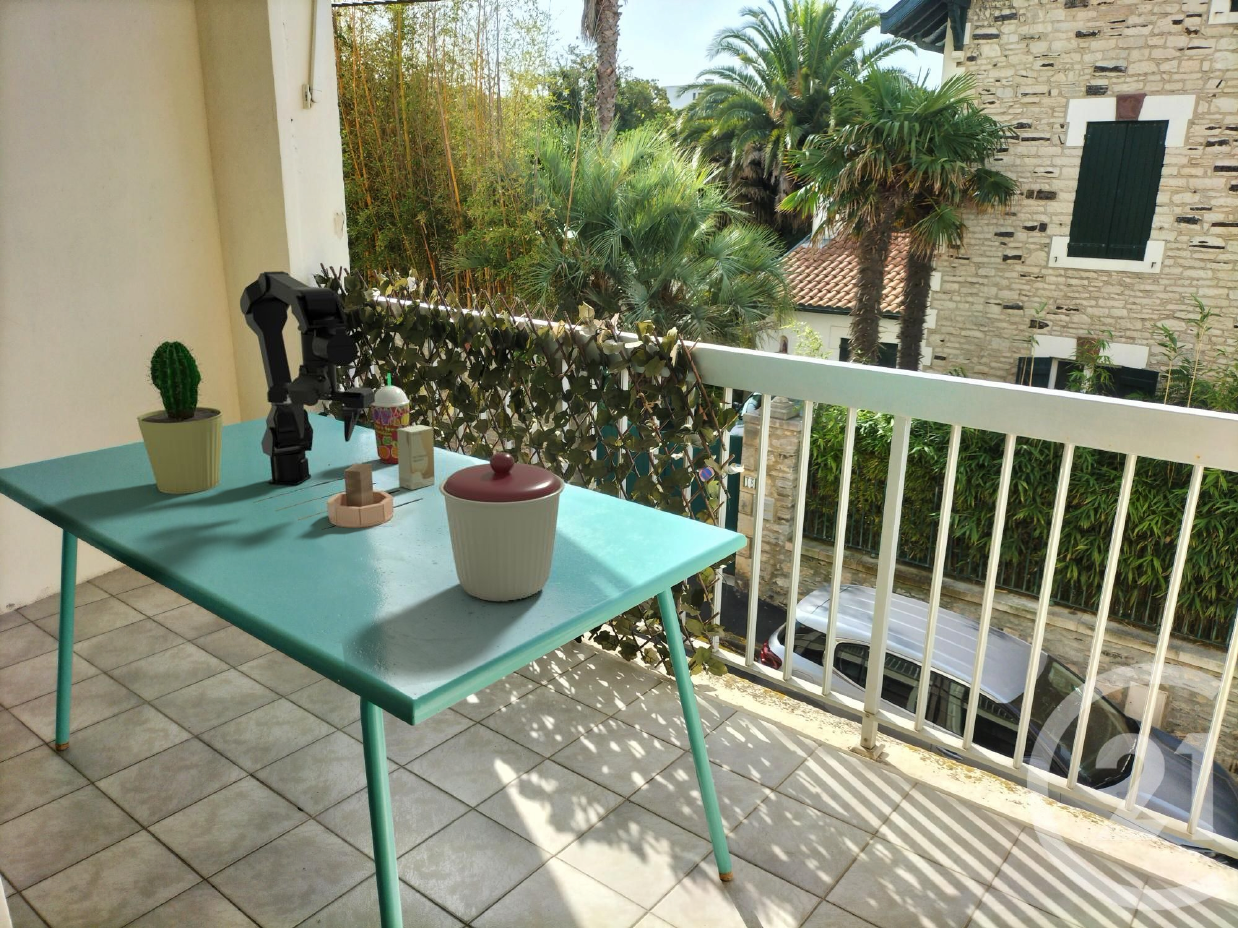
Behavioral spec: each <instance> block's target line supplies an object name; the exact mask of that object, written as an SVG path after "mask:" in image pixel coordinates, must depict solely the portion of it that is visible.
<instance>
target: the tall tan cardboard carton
mask: <svg viewBox="0 0 1238 928" xmlns="http://www.w3.org/2000/svg"><path fill="white" fill-rule="evenodd" d="M372 467H373V466H372V463H362V462H361V463H358V462H356V463H354V464H352V465H351V466H349V467H348V468H346V469H345V470H343V471H344V474H343V475H344V488H345V492H346V504H347V506H352V507H362V506H368V505H373V504H374V498H373V490H374V487H373V486H374V485H373V482H374V481H373V468H372Z"/></svg>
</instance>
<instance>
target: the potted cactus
mask: <svg viewBox="0 0 1238 928" xmlns="http://www.w3.org/2000/svg"><path fill="white" fill-rule="evenodd" d="M183 342H184V340H182V341H178V340H174V341H168V340H167V341H166V340H165V341H163V342H161V343H160V341H158V344H159V346H158V347H157V346H155V348H153V349H152V351H154V352H151V354H152V357H150V358H147V360H148V361H150V364H148V366H146V368H148V372H150V373H149V374H146V377H147V378H149V379H147V380H146V382H147V381H148V382H149V381H150V382H151V383H150V382H149V383H148V384H150V385H153V386H154V388H156V390H155V391H157V390H158V392H157V394H159V396H158V397H159V398H157V400H158V399H160V398H161V400H160V401H162V403H161V406H162V405H163V408H161V409H155V410H151V411H147V412H144V413H142V414H139V415H138V416H137V417H136V419H137V423H138V428H139V431H140V434H141V437H142V440H143V443H144V446H145V450H146V453H147V456H148V460H149V463H150V467H151V470H152V472H153V473H152V474H153V476H154V479H155V482H156V486H157V489H158V491H160V492H162V493H165V494H172V495H173V494H174V495H175V494H176V495H181V494H191V493H192V494H193V493H198V492H204V491H207V490H211V489H214V488H216V487H217V486H219V484H220V480H221V478H220V477H221V459H222V458H221V457H222V441H223V439H222V438H223V414H224V410H223V409H220V408H216V407H209V406H198V403H200V400H199V396H202V394H201V393H200V394H199V391H202V389H201V388H200V387H199V385H200V383H202V384H203V383H204V381H203V378H202V376H201V372H200V370H199V367H200V365H201V363H199V364H197V363H196V362H197V359H196V356H193V355H192V351H193V349H191V347H187V346H188V345H189V344H187V346H186V345H185V343H183ZM189 346H190V345H189ZM160 401H158V403H160ZM201 403H203V404H204V402H202V401H201Z"/></svg>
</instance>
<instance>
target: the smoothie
mask: <svg viewBox="0 0 1238 928" xmlns="http://www.w3.org/2000/svg"><path fill="white" fill-rule="evenodd" d="M386 375H387V385H384V386H382V387H381V388H379V389H378V390H376V392H374V394H375V402H374V403H372V404H371V412H372V420H373V427H374V435H375V443H376V450H377V452H376V453H377V456H378V457H379V459H380V462H382V463H383V462H384V464H390V463H391V464H392V463H394V464H398V437H397V429H401V428H406V427H410V400H409V398H408V395H406V393H405V392H404V391H403V390H402V388H400V387H398V386H395V385H392V383H391V382H392V379H391V373H388V372H387V374H386Z"/></svg>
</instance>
